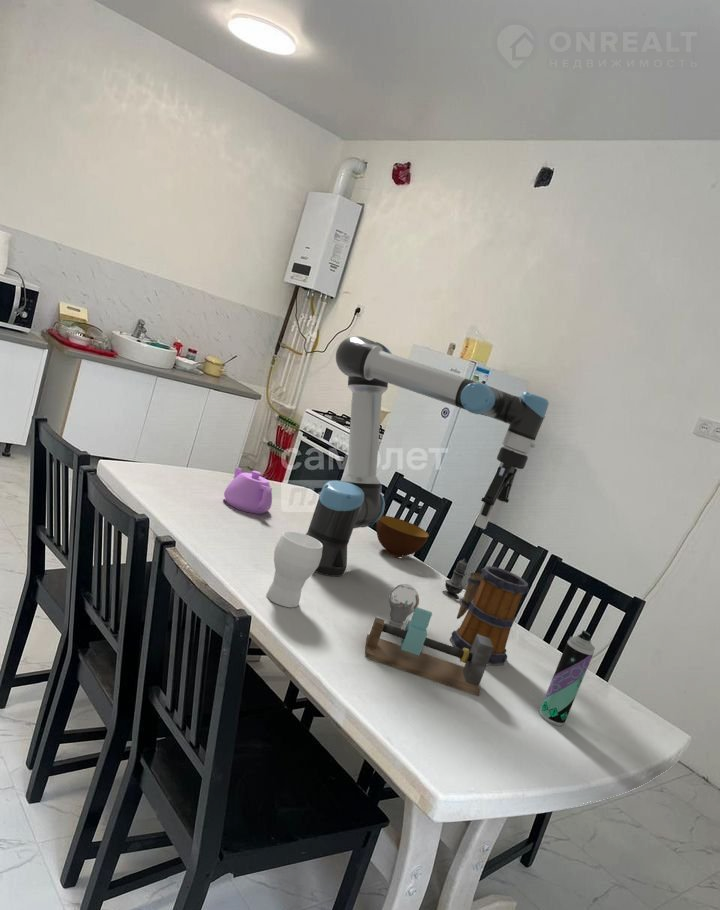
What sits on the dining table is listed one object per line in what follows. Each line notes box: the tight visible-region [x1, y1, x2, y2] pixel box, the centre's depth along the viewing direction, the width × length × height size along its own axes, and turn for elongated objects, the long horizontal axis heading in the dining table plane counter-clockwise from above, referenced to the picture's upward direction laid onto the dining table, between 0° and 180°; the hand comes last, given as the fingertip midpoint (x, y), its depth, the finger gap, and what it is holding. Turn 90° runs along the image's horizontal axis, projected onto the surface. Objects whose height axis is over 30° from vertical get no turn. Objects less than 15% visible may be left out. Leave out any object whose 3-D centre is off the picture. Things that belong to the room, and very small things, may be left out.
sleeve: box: [400, 606, 433, 655], centre depth 147 cm, size 4×4×9 cm
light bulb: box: [387, 583, 420, 629], centre depth 161 cm, size 7×7×12 cm
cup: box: [266, 530, 323, 608], centre depth 158 cm, size 11×11×15 cm
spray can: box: [538, 630, 595, 727], centre depth 144 cm, size 6×6×20 cm
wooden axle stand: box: [364, 616, 493, 697], centre depth 148 cm, size 25×10×10 cm, turn 88°
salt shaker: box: [441, 558, 468, 600], centre depth 205 cm, size 6×6×12 cm
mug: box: [448, 565, 530, 667], centre depth 170 cm, size 19×14×20 cm
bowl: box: [375, 515, 430, 558], centre depth 228 cm, size 18×18×10 cm
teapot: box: [223, 467, 273, 515], centre depth 224 cm, size 22×16×12 cm
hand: (485, 524), depth 185 cm, fingers open, 13 cm apart
